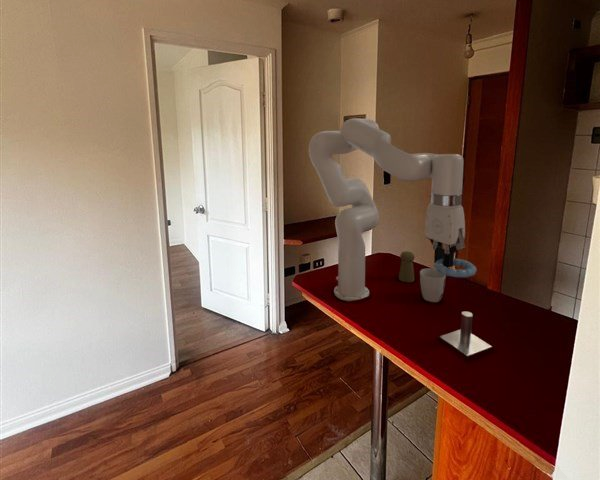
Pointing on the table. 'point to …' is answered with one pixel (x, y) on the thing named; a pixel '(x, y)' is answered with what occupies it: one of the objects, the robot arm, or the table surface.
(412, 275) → the cork
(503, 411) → the table surface
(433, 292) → the cup
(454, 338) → the post
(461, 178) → the robot arm
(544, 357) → the table surface
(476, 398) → the table surface
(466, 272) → the ring
